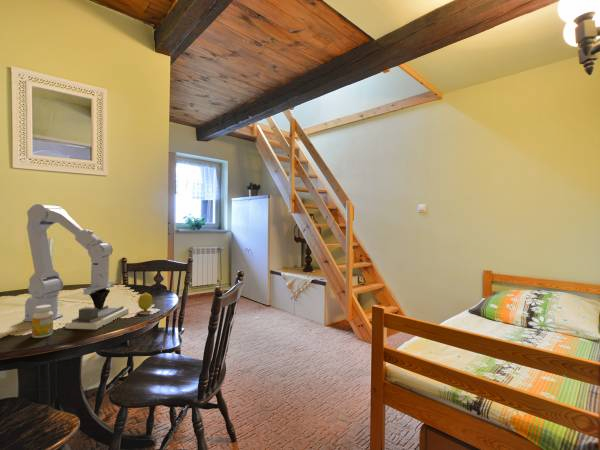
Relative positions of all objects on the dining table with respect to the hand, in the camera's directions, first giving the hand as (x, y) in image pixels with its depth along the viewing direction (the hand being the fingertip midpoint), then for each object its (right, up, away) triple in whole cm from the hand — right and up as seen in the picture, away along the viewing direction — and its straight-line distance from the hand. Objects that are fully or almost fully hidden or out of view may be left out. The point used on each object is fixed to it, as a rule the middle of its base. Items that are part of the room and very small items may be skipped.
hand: (98, 309), depth 118 cm
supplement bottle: (-8, -5, -16) cm, 19 cm away
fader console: (0, -4, 0) cm, 4 cm away
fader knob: (0, -2, -6) cm, 6 cm away
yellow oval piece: (+11, -5, +14) cm, 19 cm away
